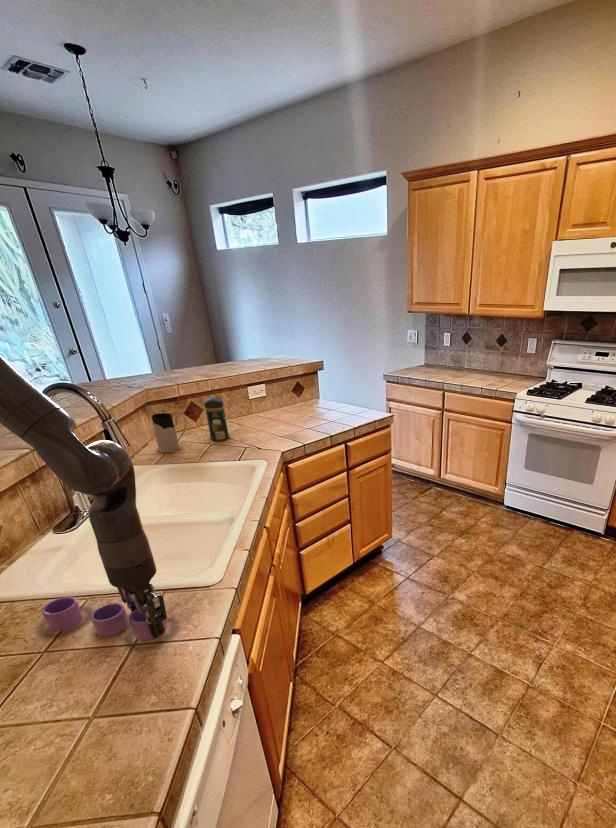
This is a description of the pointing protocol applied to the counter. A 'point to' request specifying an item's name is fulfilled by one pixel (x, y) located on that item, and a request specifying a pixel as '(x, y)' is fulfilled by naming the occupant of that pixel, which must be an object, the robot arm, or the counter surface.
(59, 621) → the purple short hollow cylinder
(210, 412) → the coffee jar
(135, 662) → the counter surface
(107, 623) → the dish middle
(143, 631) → the dish far
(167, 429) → the grey mug
